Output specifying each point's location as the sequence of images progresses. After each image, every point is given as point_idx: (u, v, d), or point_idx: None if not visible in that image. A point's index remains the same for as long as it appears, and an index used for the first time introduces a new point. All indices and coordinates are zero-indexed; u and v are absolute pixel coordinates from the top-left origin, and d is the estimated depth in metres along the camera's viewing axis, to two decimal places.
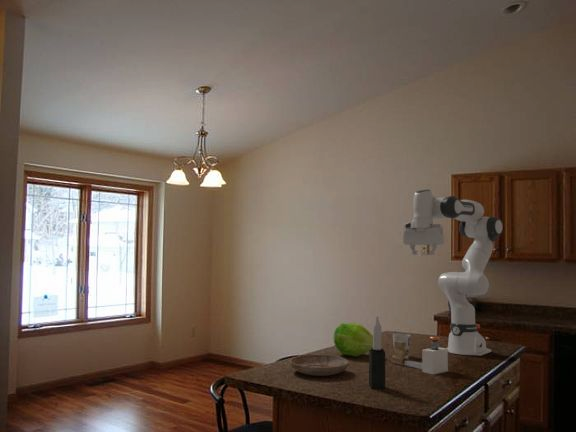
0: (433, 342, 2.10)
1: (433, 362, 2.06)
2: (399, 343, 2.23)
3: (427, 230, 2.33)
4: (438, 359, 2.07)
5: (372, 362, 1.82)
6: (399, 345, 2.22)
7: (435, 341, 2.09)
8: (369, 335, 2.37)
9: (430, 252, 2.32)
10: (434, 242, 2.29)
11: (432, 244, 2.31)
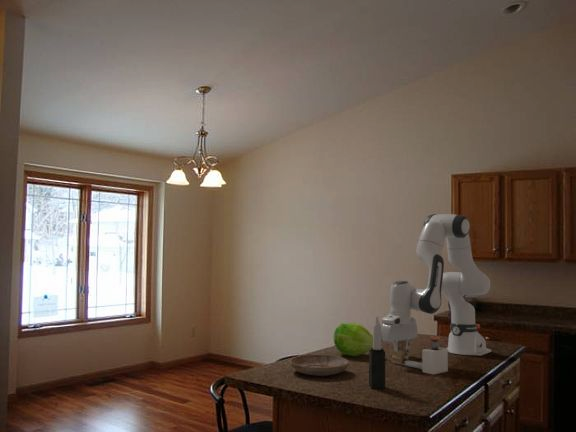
0: (433, 342, 2.10)
1: (433, 362, 2.06)
2: (399, 343, 2.23)
3: (408, 325, 2.26)
4: (438, 359, 2.07)
5: (372, 362, 1.82)
6: (399, 345, 2.22)
7: (435, 341, 2.09)
8: (369, 335, 2.37)
9: None
10: (414, 336, 2.28)
11: (411, 338, 2.27)
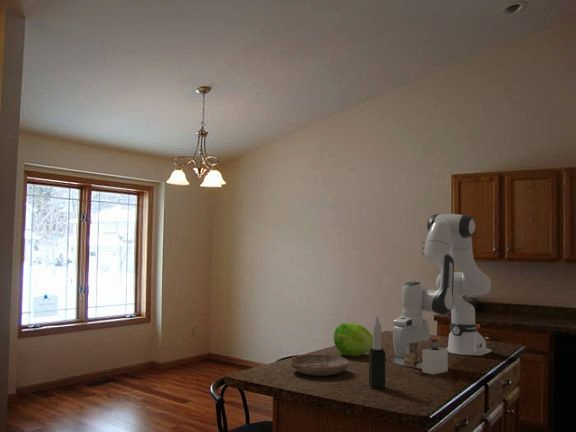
0: (433, 342, 2.10)
1: (433, 362, 2.06)
2: (411, 345, 2.18)
3: (421, 326, 2.21)
4: (438, 359, 2.07)
5: (372, 362, 1.82)
6: (411, 348, 2.17)
7: (435, 341, 2.09)
8: (369, 335, 2.37)
9: None
10: (426, 338, 2.23)
11: None
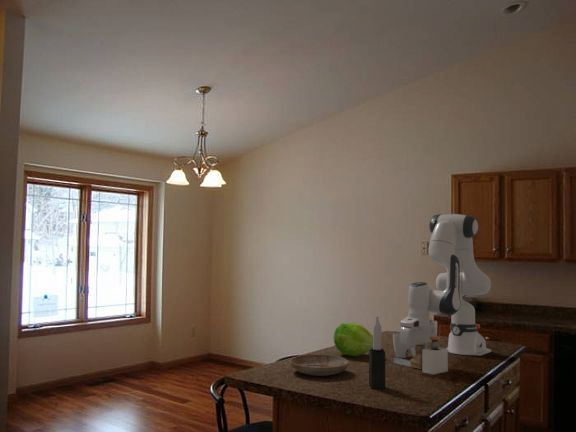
0: (433, 342, 2.10)
1: (433, 362, 2.06)
2: (418, 347, 2.15)
3: (427, 327, 2.18)
4: (438, 359, 2.07)
5: (372, 362, 1.82)
6: (418, 349, 2.15)
7: (435, 341, 2.09)
8: (369, 335, 2.37)
9: None
10: None
11: None
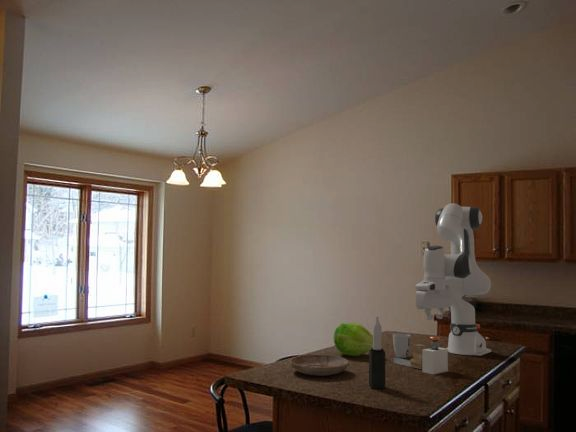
0: (433, 342, 2.10)
1: (433, 362, 2.06)
2: (418, 347, 2.15)
3: (443, 292, 2.13)
4: (438, 359, 2.07)
5: (372, 362, 1.82)
6: (418, 349, 2.15)
7: (435, 341, 2.09)
8: (369, 335, 2.37)
9: (441, 316, 2.13)
10: (449, 305, 2.15)
11: None
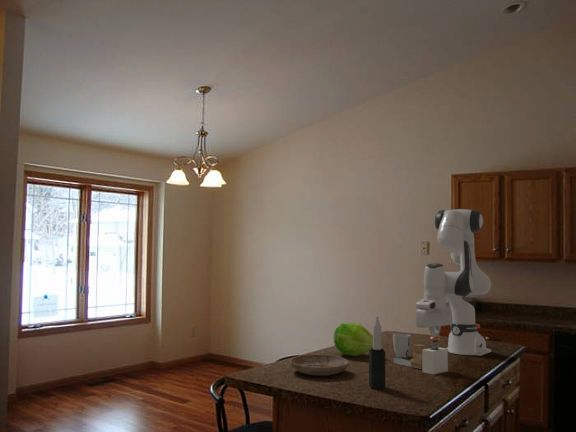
0: (433, 342, 2.10)
1: (433, 362, 2.06)
2: (418, 347, 2.15)
3: (443, 310, 2.12)
4: (438, 359, 2.07)
5: (372, 362, 1.82)
6: (418, 349, 2.15)
7: (435, 341, 2.09)
8: (369, 335, 2.37)
9: (437, 334, 2.10)
10: (449, 322, 2.14)
11: None
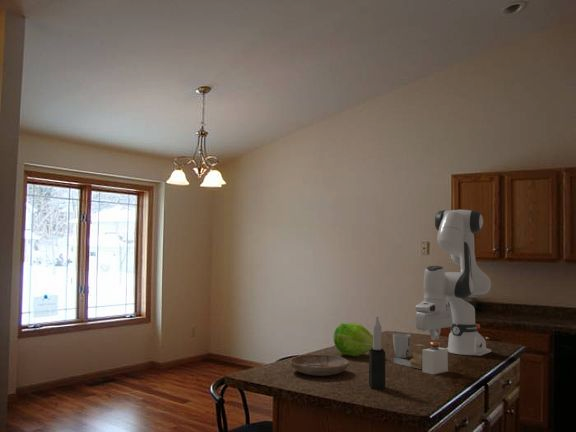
0: (433, 347, 2.09)
1: (433, 362, 2.06)
2: (418, 347, 2.15)
3: (443, 312, 2.12)
4: (438, 359, 2.07)
5: (372, 362, 1.82)
6: (418, 349, 2.15)
7: (435, 346, 2.09)
8: (369, 335, 2.37)
9: (437, 337, 2.11)
10: (449, 325, 2.14)
11: None
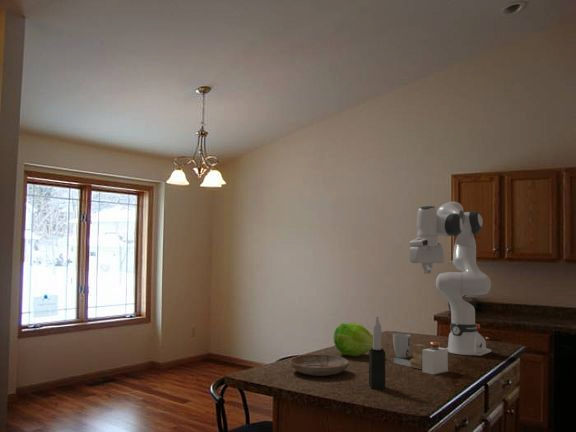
0: (433, 347, 2.09)
1: (433, 362, 2.06)
2: (418, 347, 2.15)
3: (435, 248, 2.29)
4: (438, 359, 2.07)
5: (372, 362, 1.82)
6: (418, 349, 2.15)
7: (435, 346, 2.09)
8: (369, 335, 2.37)
9: (429, 271, 2.27)
10: (440, 261, 2.31)
11: None
